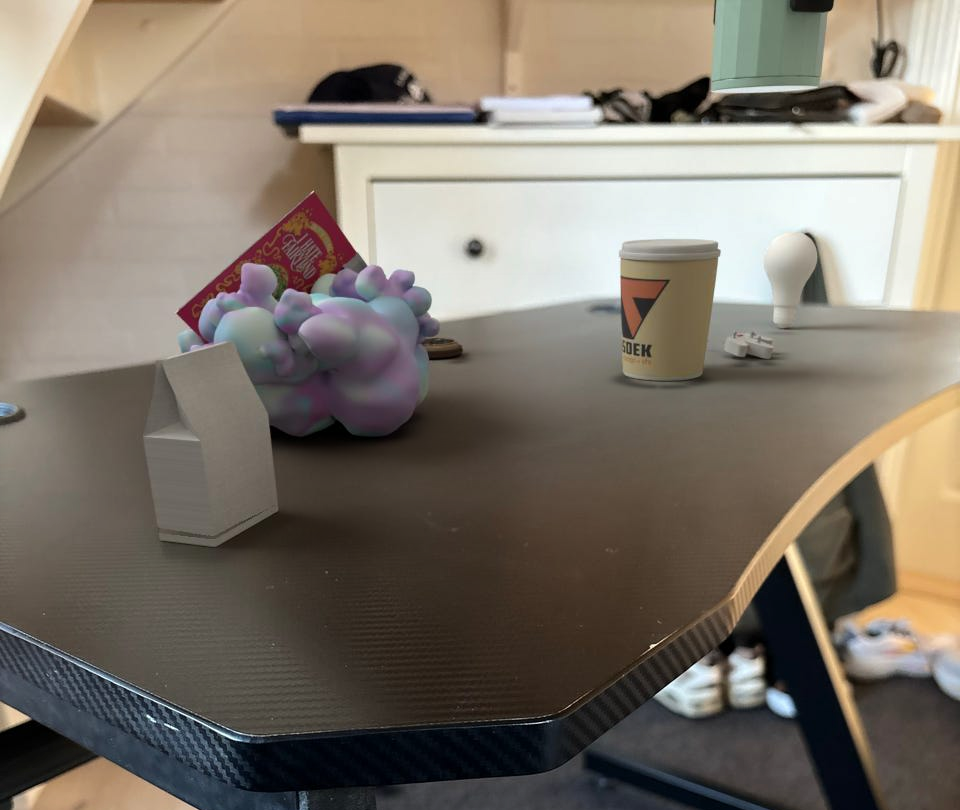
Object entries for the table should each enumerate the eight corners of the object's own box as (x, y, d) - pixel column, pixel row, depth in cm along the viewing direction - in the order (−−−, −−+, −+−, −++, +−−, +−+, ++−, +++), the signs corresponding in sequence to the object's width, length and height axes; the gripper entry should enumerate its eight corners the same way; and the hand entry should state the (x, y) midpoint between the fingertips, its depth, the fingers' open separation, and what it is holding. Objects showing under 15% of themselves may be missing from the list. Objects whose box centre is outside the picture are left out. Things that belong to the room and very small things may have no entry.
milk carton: (278, 510, 61) (260, 341, 57) (215, 547, 56) (189, 362, 51) (226, 505, 63) (205, 339, 58) (159, 540, 57) (130, 359, 53)
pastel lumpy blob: (310, 410, 65) (384, 148, 65) (75, 371, 74) (141, 141, 74) (446, 494, 83) (504, 289, 84) (244, 454, 92) (297, 270, 93)
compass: (458, 360, 108) (456, 288, 104) (386, 359, 109) (382, 288, 106) (470, 347, 115) (469, 280, 112) (402, 347, 116) (399, 280, 113)
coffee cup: (598, 369, 101) (601, 241, 96) (679, 362, 104) (687, 237, 99) (643, 386, 93) (650, 247, 88) (730, 377, 96) (741, 242, 91)
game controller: (766, 362, 103) (768, 335, 102) (659, 355, 108) (660, 330, 107) (780, 353, 107) (782, 327, 106) (676, 347, 113) (678, 323, 112)
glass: (813, 90, 75) (828, -54, 72) (824, 83, 69) (841, -76, 65) (710, 94, 77) (719, -47, 73) (710, 88, 70) (720, -67, 66)
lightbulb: (815, 326, 124) (826, 230, 119) (800, 333, 119) (812, 233, 115) (766, 323, 127) (775, 229, 122) (750, 330, 122) (759, 232, 118)
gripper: (952, -357, 58) (903, 4, 65) (759, -250, 72) (737, 35, 79) (849, -379, 55) (811, 0, 62) (670, -263, 69) (657, 33, 77)
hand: (770, 18), depth 71 cm, fingers closed on glass, 7 cm apart
